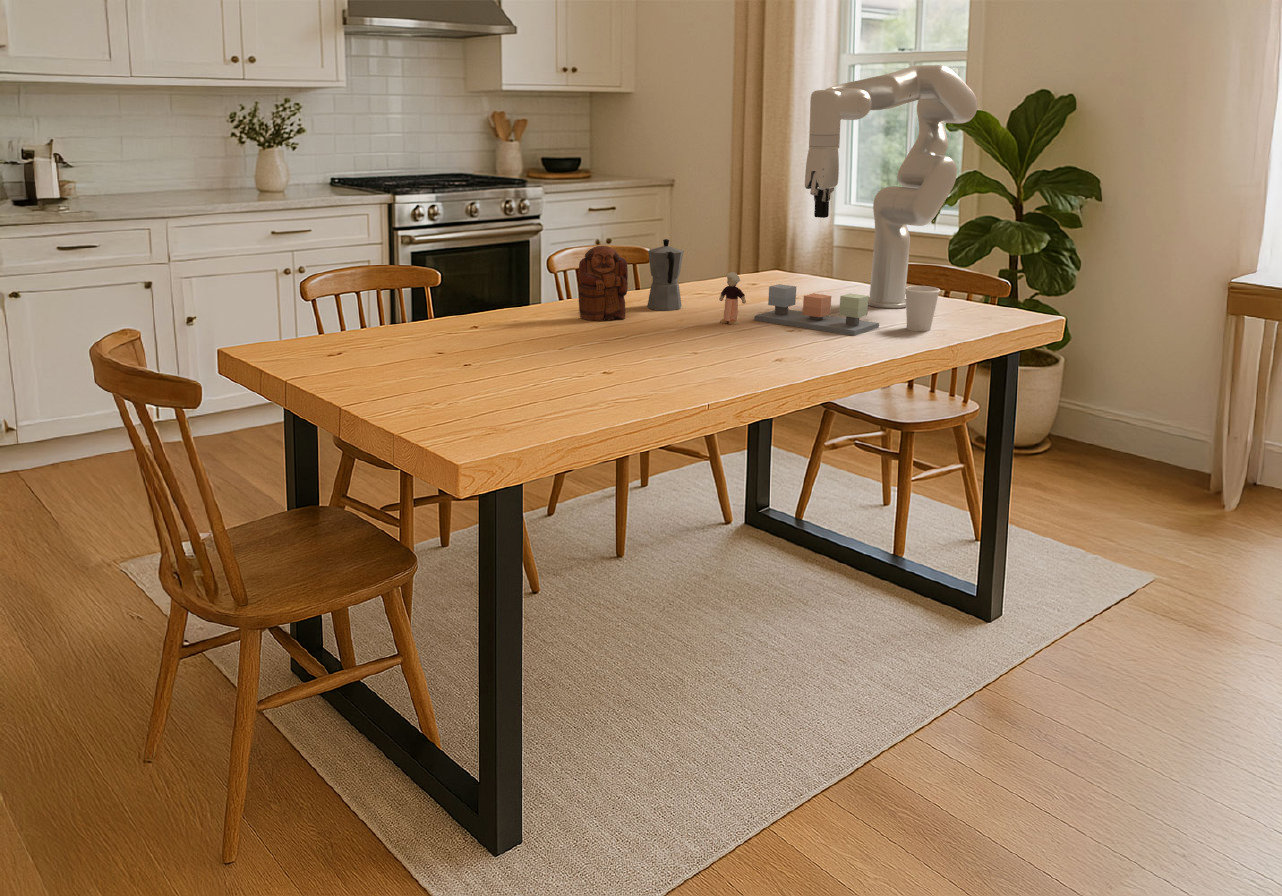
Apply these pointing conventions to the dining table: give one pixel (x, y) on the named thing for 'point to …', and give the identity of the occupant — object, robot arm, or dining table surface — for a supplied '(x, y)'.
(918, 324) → the dixie cup
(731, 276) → the grandmother figurine
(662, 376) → the dining table surface
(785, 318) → the button board
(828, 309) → the button terracotta
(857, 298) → the button sage
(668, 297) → the coffeepot
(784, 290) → the button slate
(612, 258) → the wooden figurine
